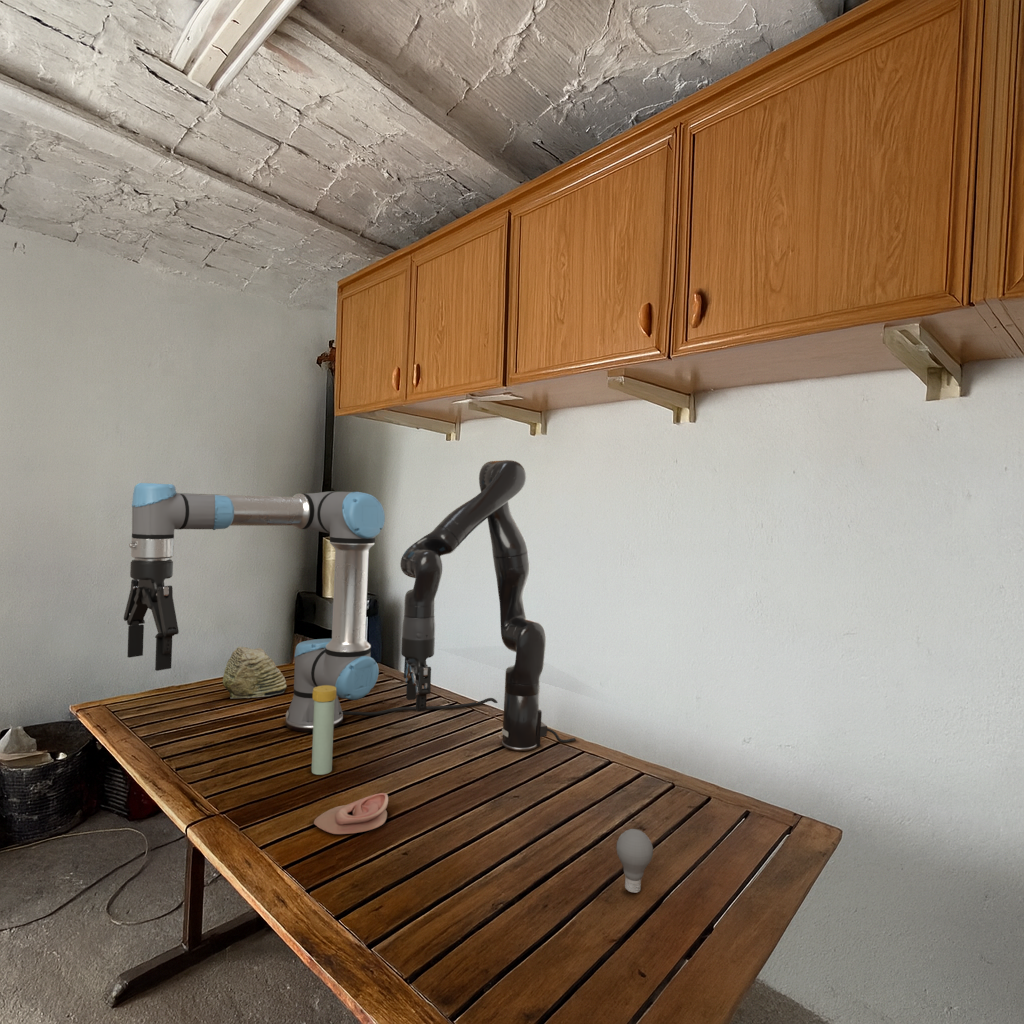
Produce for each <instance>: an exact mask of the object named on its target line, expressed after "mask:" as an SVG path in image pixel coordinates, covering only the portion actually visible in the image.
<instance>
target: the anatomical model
mask: <svg viewBox="0 0 1024 1024" xmlns="http://www.w3.org/2000/svg"><path fill="white" fill-rule="evenodd" d="M388 805H389V795H388V793H386V792H379V793H375V794H371V795H369V796H366V797H363V798H360V799H358V800H355V801H352V802H350V803H347V804H344V805H343V804H342V805H339V806H335V807H333V808H330V809H328V810H326V811H325V812H322V813H321V814H320V815H318V816H317V817H316V818H315V819H314V820H313V824H314V825H315V826H316V827H317V828H319V829H320V830H322V831H324V832H327V833H328V834H333V835H349V834H357V833H363V832H368V831H372V830H375V829H377V828H379V827H381V826H382V825H384V824H385V823H386V821H387V818H388V812H387V811H388V810H386V809H387V808H388Z"/></svg>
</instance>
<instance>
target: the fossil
mask: <svg viewBox="0 0 1024 1024" xmlns="http://www.w3.org/2000/svg"><path fill="white" fill-rule="evenodd" d="M222 676H223V677H222V685H223V687H224V688H225V690H226V691H228V693H229V698H230V699H250V698H264V697H271V696H275V695H281V694H284V693H285V691H286V689H287V687H288V686H287V680H286V678H285V676H284V674H283V673H282V672H281V669H279V668H278V667H277V665H276V663H275V662H274V660H273V659H272V658H271V657H270V656H269V655H268V654H267V653H266V652H265V650H264V649H263V648H260V647H258V648H251V647H247V646H246V647H245V646H238V647H237V648H236V649H235V650H233V651H232V653H231V656H230V657H229V659H228V660H227V663H226V666H225V668H224V671H223V675H222Z"/></svg>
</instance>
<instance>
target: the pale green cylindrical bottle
mask: <svg viewBox="0 0 1024 1024" xmlns="http://www.w3.org/2000/svg"><path fill="white" fill-rule="evenodd" d="M334 703H335V700H333V701H329V702H317V701H314V717H313V732H312V744H311V745H312V746H311V769H310V770H311V771H310V773H312V774H313V775H317V776H323V775H327V774H329V773H331V772H332V771H333V753H334V752H333V751H334V729H335V728H334Z"/></svg>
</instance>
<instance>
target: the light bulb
mask: <svg viewBox="0 0 1024 1024" xmlns="http://www.w3.org/2000/svg"><path fill="white" fill-rule="evenodd" d="M615 849H616V854H617V857H618V859H619V861H620V863H621V865H622V867H623V873H624V874H623V875H624V876H625V878H624V888H625V890H627V891H628V892H630V893H634V894H635V893H639V892H640V891H641V889H642V887H641V886H642V879H643V877H644V875H645V871H646V868H647V867H648V866H649V864H650V863H651V861H652V859H653V855H654V847H653V843H652V841H651V838H649V836H648V835H647V834H646V833H645V832H643V831H642V830H641V829H636V828H629V829H627V830H625V831H623V832H622V833H621V834H620V835H619V837H618V839H617V841H616V847H615Z"/></svg>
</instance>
